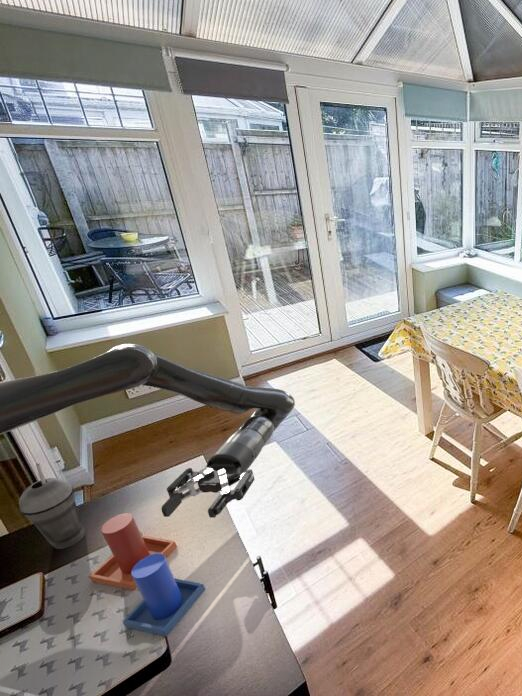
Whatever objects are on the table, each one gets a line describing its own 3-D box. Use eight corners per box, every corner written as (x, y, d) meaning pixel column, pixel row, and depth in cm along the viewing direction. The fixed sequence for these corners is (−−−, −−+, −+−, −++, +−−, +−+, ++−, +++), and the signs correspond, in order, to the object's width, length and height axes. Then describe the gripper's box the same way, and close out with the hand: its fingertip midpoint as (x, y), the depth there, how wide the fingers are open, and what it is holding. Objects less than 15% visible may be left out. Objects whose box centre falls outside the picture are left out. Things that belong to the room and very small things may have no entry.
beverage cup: (56, 531, 86) (14, 457, 78) (101, 520, 89) (64, 448, 81) (36, 562, 80) (-12, 485, 72) (85, 549, 83) (44, 474, 75)
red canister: (115, 572, 78) (94, 531, 74) (137, 551, 82) (118, 511, 78) (135, 576, 78) (115, 535, 73) (156, 554, 82) (138, 515, 77)
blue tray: (126, 629, 70) (122, 621, 69) (168, 583, 77) (165, 576, 77) (167, 638, 69) (163, 631, 68) (206, 591, 76) (203, 583, 76)
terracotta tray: (92, 583, 77) (88, 576, 76) (139, 540, 85) (136, 533, 84) (134, 592, 76) (131, 585, 75) (177, 548, 84) (174, 541, 83)
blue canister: (147, 609, 73) (127, 568, 68) (177, 589, 76) (159, 548, 72) (157, 625, 70) (136, 583, 66) (187, 603, 74) (169, 562, 69)
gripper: (201, 439, 91) (142, 498, 76) (266, 441, 91) (221, 500, 76) (209, 465, 94) (154, 527, 79) (273, 467, 94) (230, 528, 79)
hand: (187, 514), depth 78 cm, fingers open, 8 cm apart
